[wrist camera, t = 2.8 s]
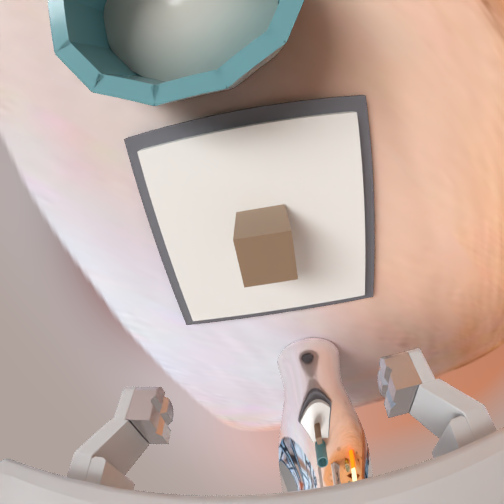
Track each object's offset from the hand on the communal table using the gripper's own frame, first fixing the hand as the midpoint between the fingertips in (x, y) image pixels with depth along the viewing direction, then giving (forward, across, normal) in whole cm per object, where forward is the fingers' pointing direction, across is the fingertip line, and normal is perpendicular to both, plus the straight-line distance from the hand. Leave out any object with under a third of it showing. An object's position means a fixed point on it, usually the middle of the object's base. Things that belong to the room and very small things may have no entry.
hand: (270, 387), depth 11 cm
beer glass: (+14, -2, +15) cm, 21 cm away
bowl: (+14, +2, -16) cm, 21 cm away
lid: (+13, 0, 0) cm, 13 cm away
